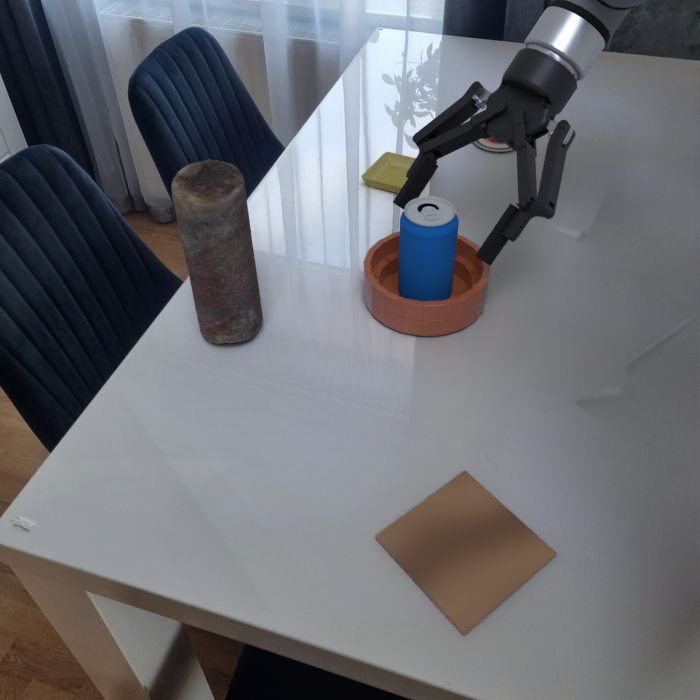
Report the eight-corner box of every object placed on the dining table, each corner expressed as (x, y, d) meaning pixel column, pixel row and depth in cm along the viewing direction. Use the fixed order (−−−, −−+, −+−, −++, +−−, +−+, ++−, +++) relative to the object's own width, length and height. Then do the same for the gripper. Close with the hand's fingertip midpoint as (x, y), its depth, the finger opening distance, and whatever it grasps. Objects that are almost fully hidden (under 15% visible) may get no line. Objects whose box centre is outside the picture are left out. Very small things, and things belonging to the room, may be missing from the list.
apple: (464, 147, 109) (468, 108, 104) (481, 126, 114) (486, 87, 109) (513, 158, 106) (519, 118, 101) (528, 135, 111) (535, 96, 106)
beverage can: (443, 274, 85) (450, 191, 77) (457, 308, 81) (467, 223, 72) (392, 281, 85) (394, 197, 76) (404, 315, 80) (407, 230, 72)
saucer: (385, 162, 106) (386, 150, 105) (437, 175, 103) (438, 162, 102) (360, 189, 101) (359, 176, 99) (413, 203, 98) (414, 190, 96)
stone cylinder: (269, 308, 82) (247, 158, 68) (262, 351, 77) (236, 198, 63) (207, 308, 83) (172, 158, 69) (195, 351, 77) (155, 198, 63)
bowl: (510, 302, 82) (516, 269, 78) (420, 357, 76) (422, 323, 72) (427, 246, 90) (429, 214, 87) (340, 292, 84) (338, 259, 81)
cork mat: (556, 556, 58) (557, 553, 58) (464, 637, 54) (464, 633, 53) (464, 473, 65) (465, 469, 64) (375, 539, 60) (375, 535, 60)
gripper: (659, 121, 69) (535, 295, 74) (481, 50, 84) (386, 199, 88) (641, 85, 63) (508, 276, 68) (453, 15, 78) (353, 176, 82)
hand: (439, 233), depth 78 cm, fingers open, 13 cm apart
